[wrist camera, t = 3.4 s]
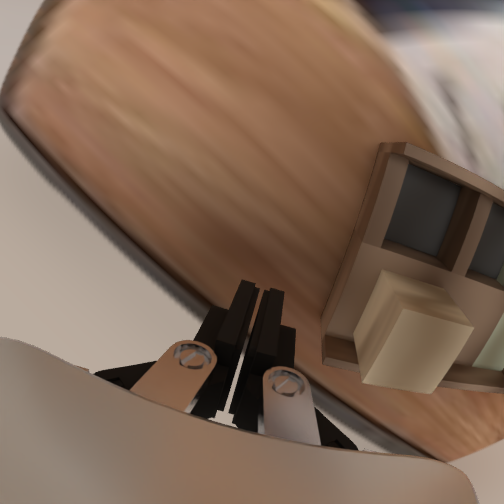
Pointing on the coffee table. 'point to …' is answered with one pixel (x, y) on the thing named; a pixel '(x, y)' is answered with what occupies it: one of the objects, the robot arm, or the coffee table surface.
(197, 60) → the coffee table surface
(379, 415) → the coffee table surface
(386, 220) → the box
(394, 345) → the birch block
